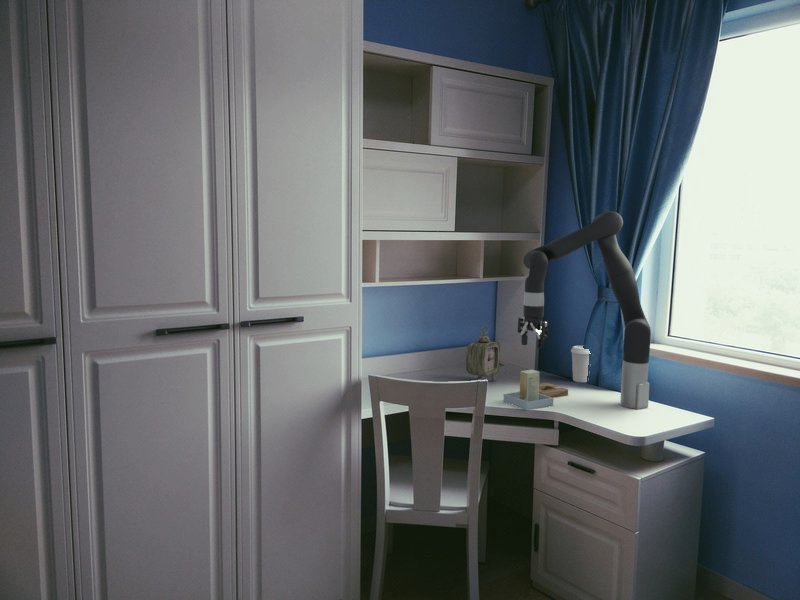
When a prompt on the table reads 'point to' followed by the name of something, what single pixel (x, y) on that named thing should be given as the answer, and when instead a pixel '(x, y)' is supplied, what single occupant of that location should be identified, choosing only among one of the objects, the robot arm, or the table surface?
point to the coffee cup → (580, 363)
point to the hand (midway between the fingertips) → (532, 346)
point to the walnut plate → (552, 390)
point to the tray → (541, 403)
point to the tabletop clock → (483, 357)
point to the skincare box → (529, 385)
